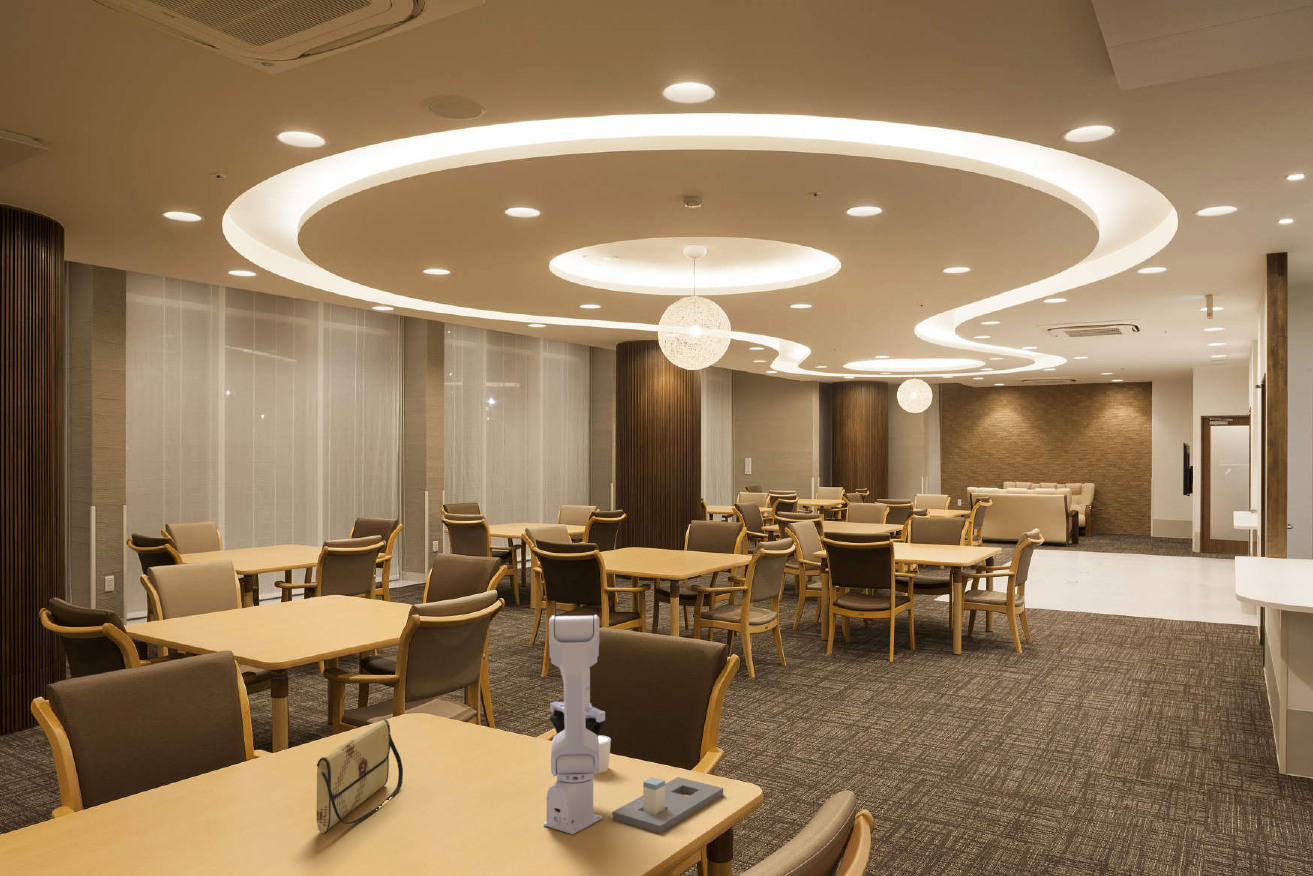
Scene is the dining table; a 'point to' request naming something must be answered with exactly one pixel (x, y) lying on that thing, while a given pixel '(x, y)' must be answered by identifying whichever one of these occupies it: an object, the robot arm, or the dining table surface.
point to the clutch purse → (354, 775)
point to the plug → (654, 795)
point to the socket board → (669, 805)
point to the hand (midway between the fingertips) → (577, 749)
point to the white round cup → (604, 752)
